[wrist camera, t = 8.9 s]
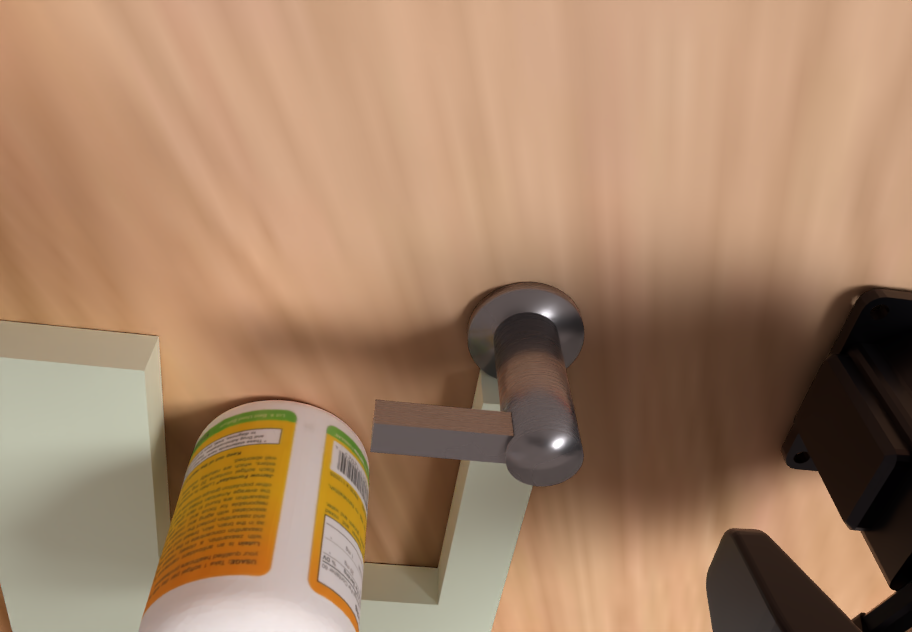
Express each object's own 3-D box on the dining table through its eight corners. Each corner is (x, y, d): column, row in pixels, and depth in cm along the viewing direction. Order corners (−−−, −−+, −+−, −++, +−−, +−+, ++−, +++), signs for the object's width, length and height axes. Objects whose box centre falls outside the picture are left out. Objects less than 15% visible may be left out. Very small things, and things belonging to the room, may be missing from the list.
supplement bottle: (172, 487, 27) (68, 809, 19) (229, 368, 24) (136, 687, 17) (330, 536, 29) (294, 852, 21) (400, 430, 26) (389, 747, 18)
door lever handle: (594, 288, 23) (629, 414, 19) (567, 379, 25) (594, 511, 21) (387, 266, 23) (378, 390, 19) (376, 360, 24) (365, 492, 20)
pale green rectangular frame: (548, 375, 25) (555, 409, 24) (456, 711, 35) (457, 748, 34) (-32, 317, 23) (-58, 352, 22) (50, 689, 33) (35, 726, 32)
